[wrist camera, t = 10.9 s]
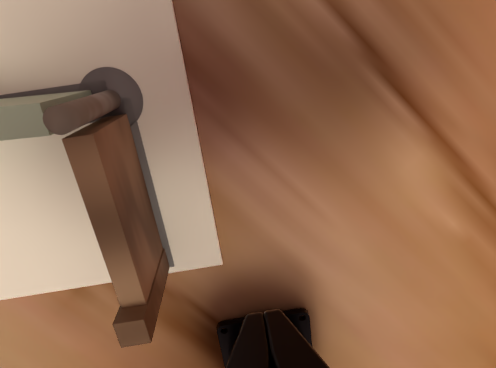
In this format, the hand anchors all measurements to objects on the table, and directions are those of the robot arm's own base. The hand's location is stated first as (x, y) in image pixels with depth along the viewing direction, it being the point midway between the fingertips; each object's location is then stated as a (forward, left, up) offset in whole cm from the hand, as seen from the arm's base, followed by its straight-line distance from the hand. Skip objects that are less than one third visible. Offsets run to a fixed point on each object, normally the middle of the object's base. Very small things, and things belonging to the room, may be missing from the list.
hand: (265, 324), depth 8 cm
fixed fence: (0, +6, -12) cm, 13 cm away
